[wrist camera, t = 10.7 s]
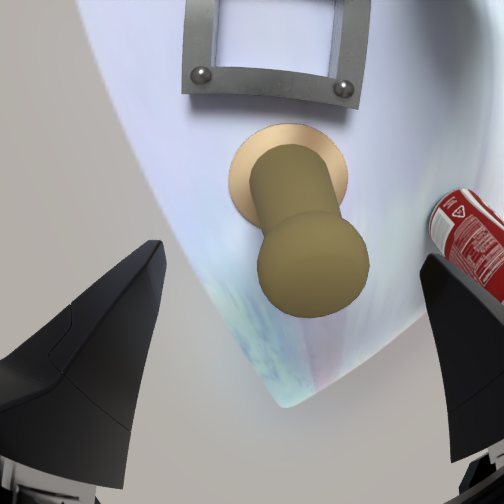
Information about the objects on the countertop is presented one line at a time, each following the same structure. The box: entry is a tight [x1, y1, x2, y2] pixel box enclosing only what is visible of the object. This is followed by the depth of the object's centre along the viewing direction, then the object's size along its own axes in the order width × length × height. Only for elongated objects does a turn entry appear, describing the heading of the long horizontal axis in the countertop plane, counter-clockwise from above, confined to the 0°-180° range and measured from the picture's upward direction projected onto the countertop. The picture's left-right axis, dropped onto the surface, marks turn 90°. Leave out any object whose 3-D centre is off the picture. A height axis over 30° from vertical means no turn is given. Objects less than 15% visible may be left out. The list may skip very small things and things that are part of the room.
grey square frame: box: [182, 0, 371, 110], centre depth 12 cm, size 11×11×2 cm
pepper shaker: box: [249, 144, 370, 318], centre depth 15 cm, size 6×6×11 cm
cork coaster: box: [229, 123, 348, 228], centre depth 20 cm, size 9×9×1 cm
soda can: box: [429, 188, 504, 305], centre depth 17 cm, size 7×7×12 cm
